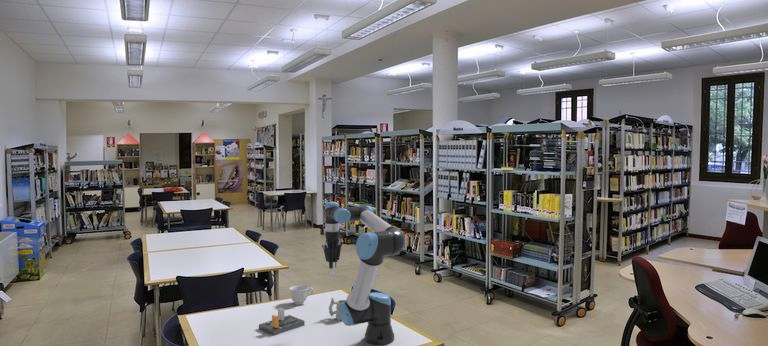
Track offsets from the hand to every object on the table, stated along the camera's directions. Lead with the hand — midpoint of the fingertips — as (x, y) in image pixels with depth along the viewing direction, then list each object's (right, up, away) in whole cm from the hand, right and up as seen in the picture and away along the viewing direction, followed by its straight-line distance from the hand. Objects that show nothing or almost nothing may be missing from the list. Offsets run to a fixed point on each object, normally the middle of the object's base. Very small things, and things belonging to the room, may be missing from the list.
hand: (332, 273), depth 255 cm
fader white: (-29, -27, +6) cm, 40 cm away
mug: (+2, -29, +15) cm, 33 cm away
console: (-28, -30, +2) cm, 41 cm away
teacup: (-24, -28, +42) cm, 56 cm away
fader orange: (-30, -27, -5) cm, 41 cm away
